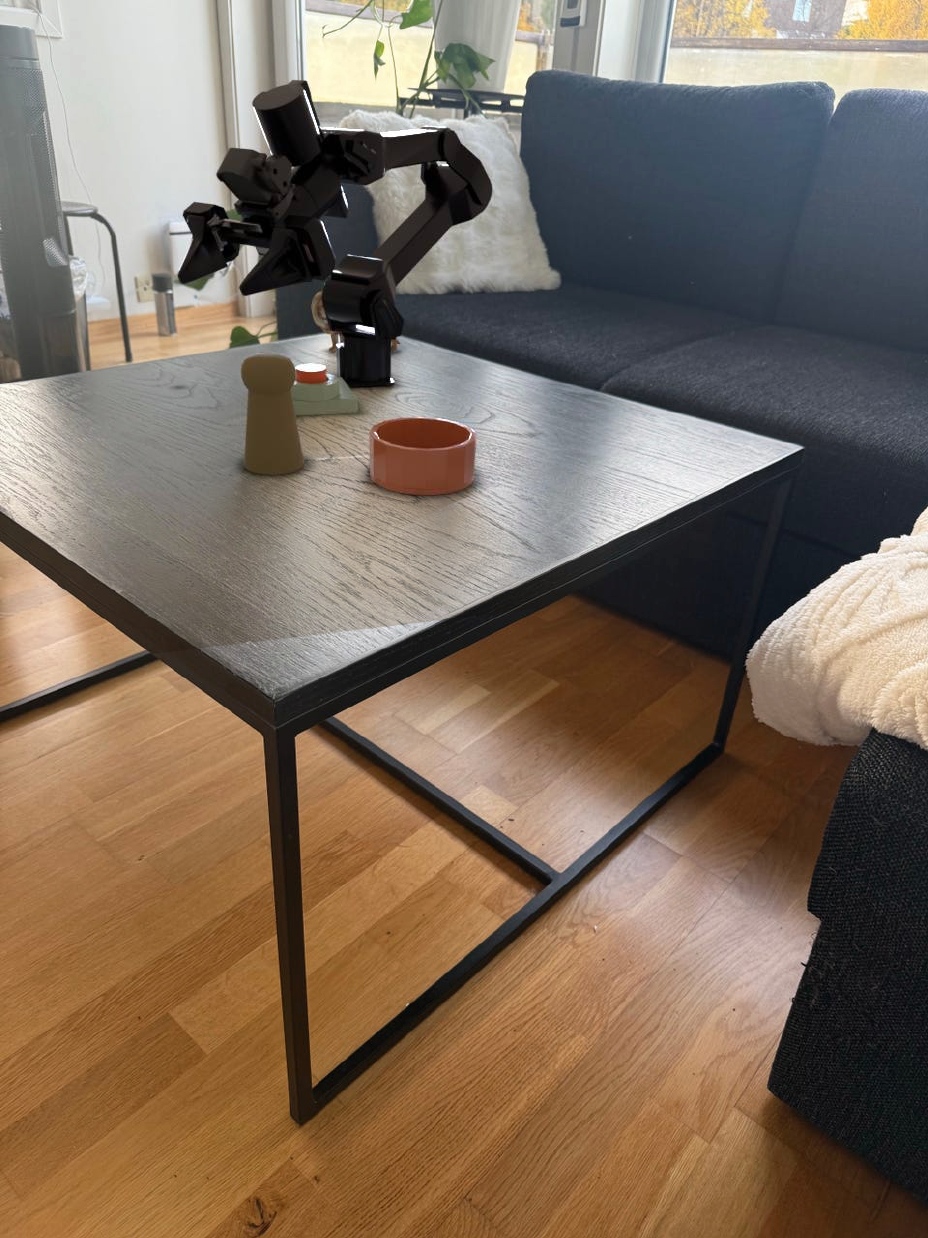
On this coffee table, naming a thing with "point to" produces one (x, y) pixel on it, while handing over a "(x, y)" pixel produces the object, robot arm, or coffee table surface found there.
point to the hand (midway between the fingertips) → (210, 285)
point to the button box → (324, 397)
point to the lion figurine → (322, 322)
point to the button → (311, 373)
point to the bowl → (422, 455)
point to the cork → (270, 415)
